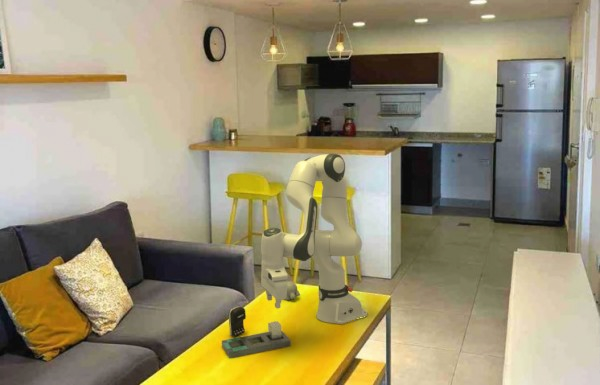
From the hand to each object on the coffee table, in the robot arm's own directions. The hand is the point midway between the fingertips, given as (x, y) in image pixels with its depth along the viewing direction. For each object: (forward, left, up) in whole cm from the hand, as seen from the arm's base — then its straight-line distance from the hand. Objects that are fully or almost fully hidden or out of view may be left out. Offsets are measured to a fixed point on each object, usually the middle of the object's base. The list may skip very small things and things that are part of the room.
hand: (273, 303), depth 237 cm
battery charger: (+11, -14, -17) cm, 25 cm away
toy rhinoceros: (-22, -43, -17) cm, 52 cm away
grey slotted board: (+8, 0, -17) cm, 18 cm away
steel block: (0, 0, -17) cm, 17 cm away
